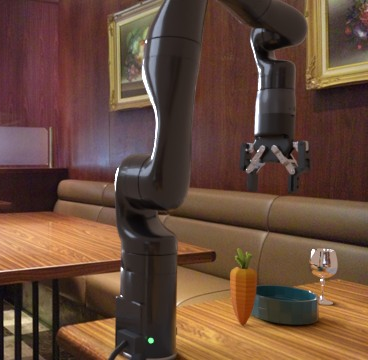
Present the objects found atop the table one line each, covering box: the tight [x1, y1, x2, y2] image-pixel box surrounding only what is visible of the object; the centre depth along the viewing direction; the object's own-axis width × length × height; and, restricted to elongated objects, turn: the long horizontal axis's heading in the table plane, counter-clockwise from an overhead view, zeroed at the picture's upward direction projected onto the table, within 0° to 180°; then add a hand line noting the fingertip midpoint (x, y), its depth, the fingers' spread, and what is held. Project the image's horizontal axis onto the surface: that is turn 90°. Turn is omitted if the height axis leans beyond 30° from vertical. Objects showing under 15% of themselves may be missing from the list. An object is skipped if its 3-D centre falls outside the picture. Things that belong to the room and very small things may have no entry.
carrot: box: [229, 248, 258, 326], centre depth 97 cm, size 5×5×15 cm
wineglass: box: [308, 247, 339, 306], centre depth 113 cm, size 6×6×12 cm
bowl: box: [250, 284, 320, 326], centre depth 103 cm, size 13×13×5 cm
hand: (272, 192), depth 101 cm, fingers open, 8 cm apart
